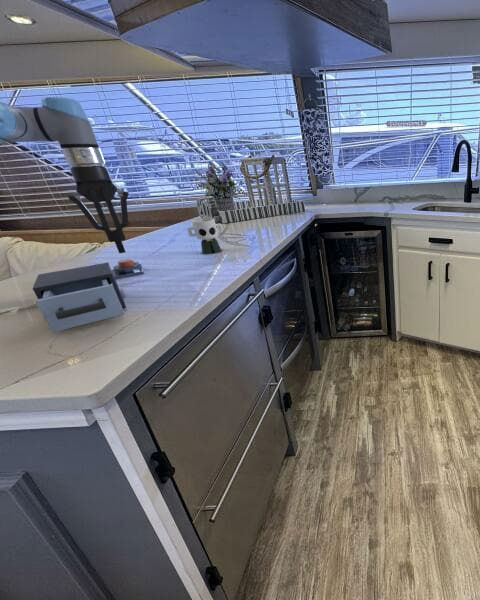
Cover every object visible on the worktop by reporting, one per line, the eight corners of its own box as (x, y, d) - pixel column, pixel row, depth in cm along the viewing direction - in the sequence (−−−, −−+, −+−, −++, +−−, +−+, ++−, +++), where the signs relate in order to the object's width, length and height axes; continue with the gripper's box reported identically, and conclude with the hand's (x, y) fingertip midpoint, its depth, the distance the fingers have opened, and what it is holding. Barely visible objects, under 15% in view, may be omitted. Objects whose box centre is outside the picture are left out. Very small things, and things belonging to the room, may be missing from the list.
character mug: (197, 260, 113) (186, 223, 108) (195, 256, 119) (184, 221, 113) (231, 254, 119) (221, 219, 114) (227, 251, 125) (218, 217, 119)
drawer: (126, 320, 67) (114, 290, 64) (50, 341, 60) (33, 308, 57) (119, 299, 79) (108, 273, 76) (55, 314, 72) (40, 285, 69)
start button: (120, 268, 94) (118, 263, 94) (119, 266, 97) (117, 261, 96) (135, 266, 97) (133, 260, 96) (134, 263, 99) (132, 258, 98)
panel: (93, 289, 89) (87, 276, 88) (92, 281, 96) (86, 268, 94) (147, 278, 97) (142, 265, 95) (142, 271, 103) (138, 259, 102)
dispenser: (126, 307, 76) (111, 273, 73) (52, 326, 68) (32, 288, 65) (121, 293, 85) (108, 262, 82) (55, 308, 78) (38, 274, 74)
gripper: (53, 166, 79) (93, 259, 88) (120, 164, 87) (150, 249, 96) (54, 167, 84) (92, 254, 94) (117, 165, 92) (147, 245, 102)
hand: (122, 252), depth 95 cm, fingers closed
